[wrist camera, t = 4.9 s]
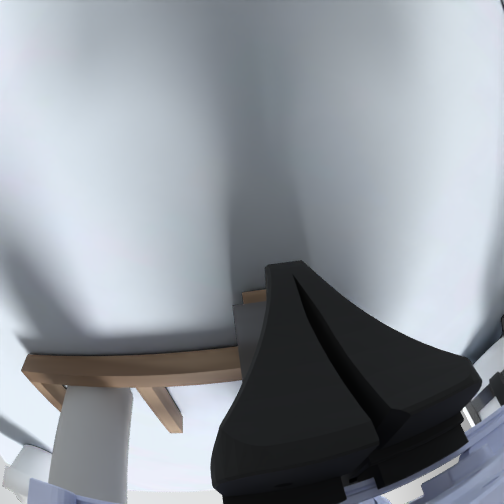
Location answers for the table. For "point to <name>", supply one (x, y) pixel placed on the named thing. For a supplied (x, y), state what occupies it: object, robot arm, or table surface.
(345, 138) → the table surface
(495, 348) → the coffee press
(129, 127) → the table surface
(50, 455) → the white rounded piece
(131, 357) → the brown wooden frame
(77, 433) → the beverage can
